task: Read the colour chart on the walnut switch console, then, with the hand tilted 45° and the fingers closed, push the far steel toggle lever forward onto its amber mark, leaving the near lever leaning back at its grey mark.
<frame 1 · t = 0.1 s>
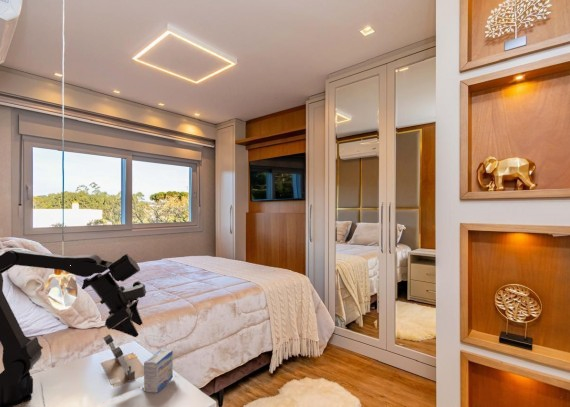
hand: (139, 330, 91), 15 cm above the table, tool tilted 35°, fingers open, 9 cm apart
far lever: (113, 348, 97), point 6 cm above the table, hinge at -22.0°
console: (124, 372, 93), on the table
medicine box: (158, 385, 87), on the table
near lever: (122, 362, 88), point 6 cm above the table, hinge at -22.0°
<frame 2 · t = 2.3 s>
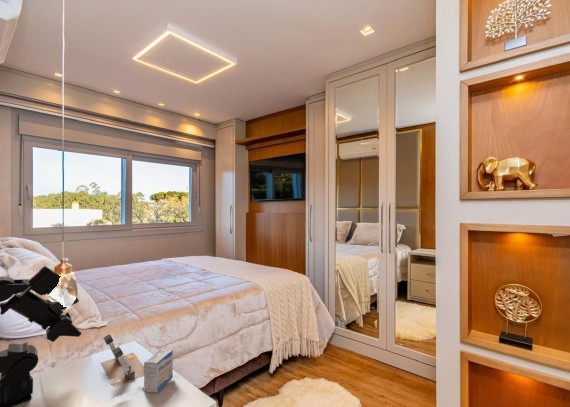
hand: (80, 334, 91), 14 cm above the table, tool tilted 45°, fingers closed
nothing on the table moved.
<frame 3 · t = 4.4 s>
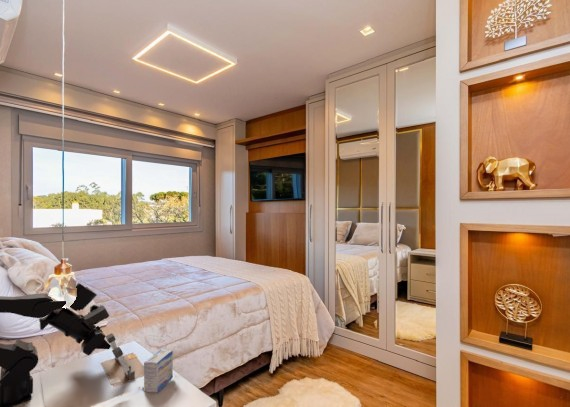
hand: (109, 347, 96), 7 cm above the table, tool tilted 45°, fingers closed, pressing on far lever
far lever: (114, 347, 97), point 6 cm above the table, hinge at -17.4°, touching gripper
everything else where it was.
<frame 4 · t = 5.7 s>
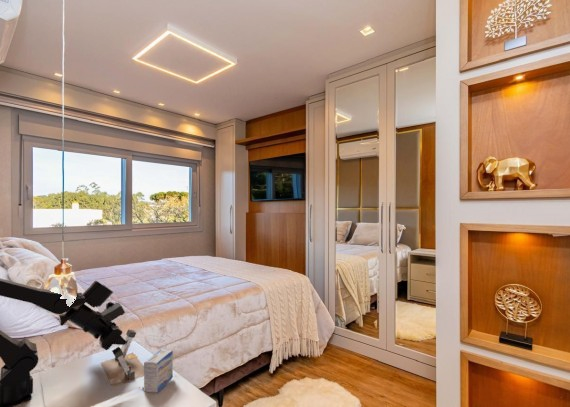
hand: (125, 343, 99), 7 cm above the table, tool tilted 45°, fingers closed, pressing on far lever
far lever: (126, 345, 99), point 6 cm above the table, hinge at 23.8°, touching gripper
everything else where it was.
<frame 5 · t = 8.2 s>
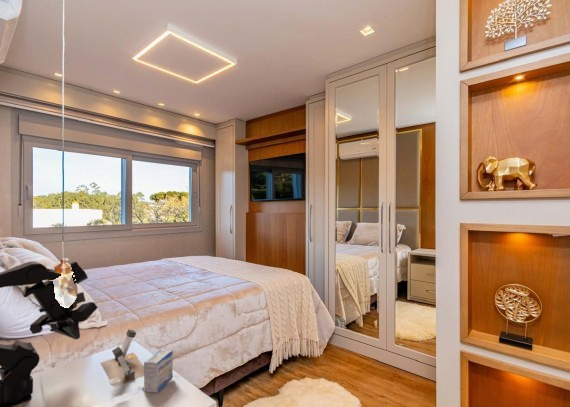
hand: (78, 338, 91), 12 cm above the table, tool tilted 25°, fingers closed
far lever: (126, 345, 99), point 6 cm above the table, hinge at 24.0°
everything else where it was.
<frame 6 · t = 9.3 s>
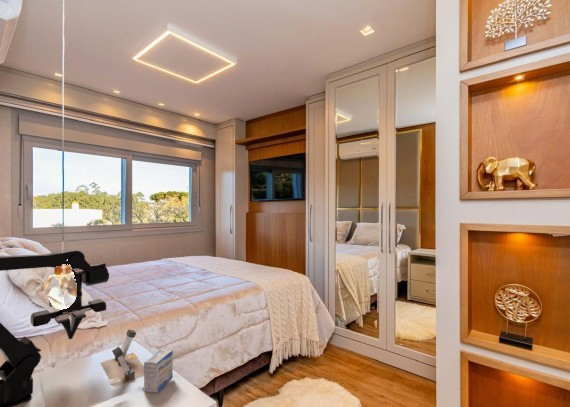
hand: (70, 338, 91), 12 cm above the table, tool pointing down, fingers closed
nothing on the table moved.
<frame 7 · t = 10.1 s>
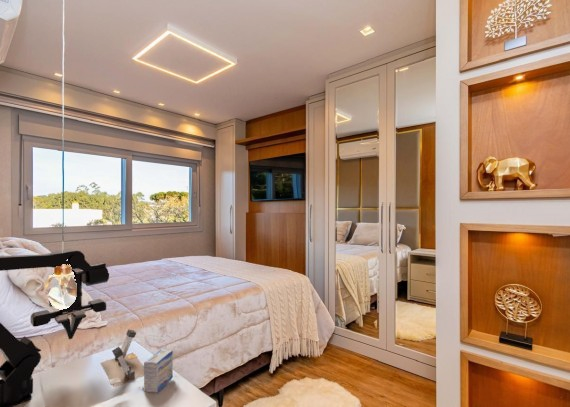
hand: (70, 338, 91), 12 cm above the table, tool pointing down, fingers closed
nothing on the table moved.
at the end: far lever at +24° (first picture: -22°); near lever at -22° (first picture: -22°) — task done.
